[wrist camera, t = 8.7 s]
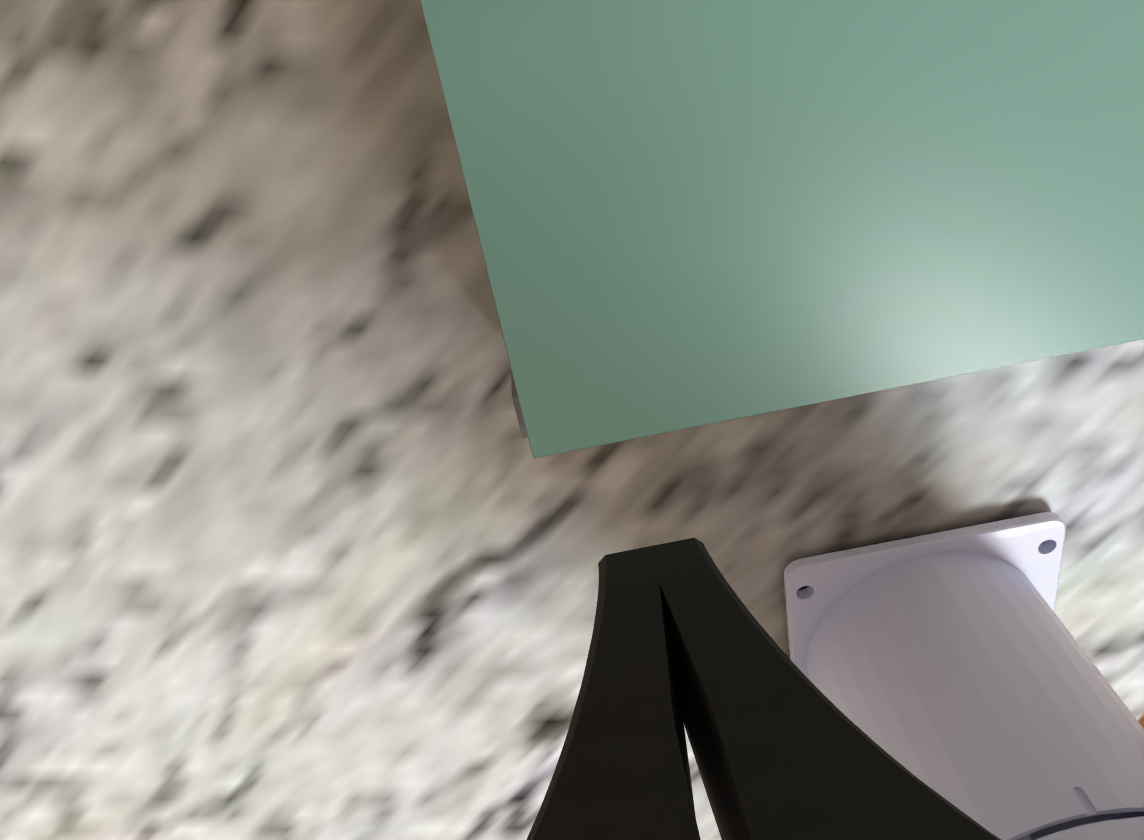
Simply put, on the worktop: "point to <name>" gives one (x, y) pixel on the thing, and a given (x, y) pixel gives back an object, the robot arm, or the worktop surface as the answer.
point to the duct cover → (791, 196)
